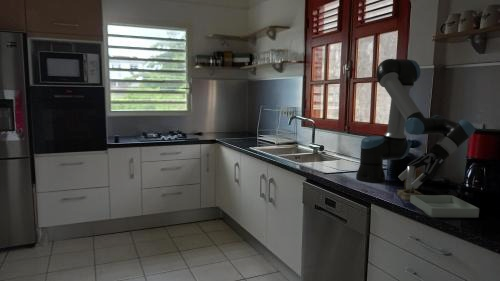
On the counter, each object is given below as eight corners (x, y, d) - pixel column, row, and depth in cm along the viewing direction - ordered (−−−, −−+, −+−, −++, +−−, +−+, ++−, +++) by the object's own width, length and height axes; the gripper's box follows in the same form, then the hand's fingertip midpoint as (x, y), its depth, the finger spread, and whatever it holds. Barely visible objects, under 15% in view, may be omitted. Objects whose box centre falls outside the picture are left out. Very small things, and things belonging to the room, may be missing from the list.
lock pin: (404, 196, 164) (405, 165, 162) (411, 196, 164) (413, 165, 162) (407, 198, 161) (409, 167, 159) (415, 198, 161) (417, 167, 159)
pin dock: (397, 196, 166) (397, 189, 166) (414, 196, 166) (414, 189, 166) (404, 201, 158) (405, 194, 158) (422, 201, 159) (423, 194, 158)
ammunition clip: (417, 189, 179) (419, 165, 177) (421, 190, 177) (422, 166, 176) (403, 192, 174) (404, 167, 172) (406, 193, 172) (407, 168, 171)
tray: (409, 203, 155) (410, 195, 155) (451, 203, 156) (452, 195, 155) (431, 217, 138) (431, 208, 137) (478, 217, 138) (479, 208, 137)
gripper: (465, 160, 148) (426, 196, 149) (433, 150, 172) (400, 181, 174) (453, 147, 147) (414, 183, 149) (423, 139, 172) (389, 170, 173)
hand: (406, 182), depth 161 cm, fingers open, 13 cm apart
